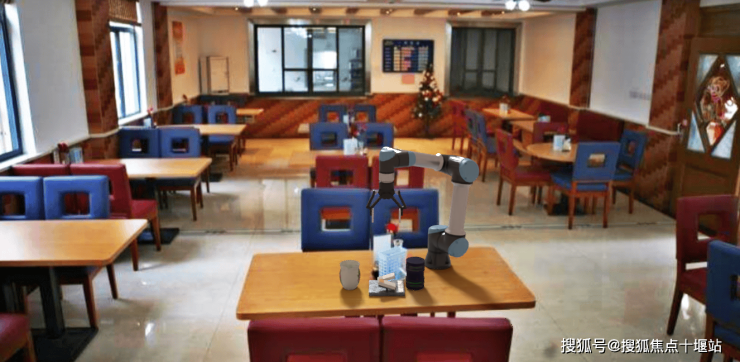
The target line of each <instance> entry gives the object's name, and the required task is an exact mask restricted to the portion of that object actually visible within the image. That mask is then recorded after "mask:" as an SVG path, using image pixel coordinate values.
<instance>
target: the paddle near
mask: <svg viewBox="0 0 740 362" xmlns="http://www.w3.org/2000/svg"><path fill="white" fill-rule="evenodd" d="M377 280H378V285H381V286H384V287H388V288H391V289H394V290H395V288H396V284H395V283H393V282H390V281H386V280H383V279H380V278H379V279H378V278H377Z"/></svg>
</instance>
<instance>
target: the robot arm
mask: <svg viewBox="0 0 740 362" xmlns="http://www.w3.org/2000/svg"><path fill="white" fill-rule="evenodd" d="M378 162H379V163H378V180H379V181H378V190H376V189H372V194H371V196H370V197H369V199H368V201H367V204H366V205H365V208H366V209H367V210H369V216H371V223H374V217H375V216H374V214H375V213H374V208H375V207H376V205H378V203H379V202H380V201H381V200H392V201H393V202H394V203H395V205H396V206H397V207H398V208H399V209H398V223H400V224H401V223H402V222H401V220H402V219H401V217H403V216H404V210H406V209H407V208H408V206H407V204H406V202H405V200H404V198H403V197H402V194H401V189H397V190H396V189H395V181H394V180H395V169H400V168H409V167H418V168H419V167H420V168H427V169H432V170H434V172H439V173H443V174H445V175H448V176H450V177H451V179H450V182H451V184H452V185H453V187H452V193H451V201H450V208H449V215H448V216H449V217H448V223H447V224H448V225H445V224H438V225H437V224H436V225H435V224H434V225H432V226H430V227H428V232H427V251H426V252H427V253H426V255H425V258H424V259H425V267H426V268H428V269H432V270H447V269H449V268H450V267H451V266H452V260H451V257H453V258H461V257H463V256H464V255H465V254H467V251H468V250H469V246H470V244H469V241H468V239H467V238H466V237H467V231H465V222H466V214H467V208H468V200H469V192H470V187H471V186H472V185H473V184H474V182H475V181H476V180H477V178H479V174H480V169H479V168H480V167H479V164H477V161H475V160H473V159H471V158H468V157H463V156H460V155H456V154H446V153H445V154H443V153H442V154H441V153H436V154H431V153H425V152H419V151H412V150H406V149H398V148H396V147H395V148H394V147H391V146H383V147H382V148H381V150H380V151H379V154H378ZM377 194H378V195H379V196H378V197H377V198H376V199H375V200H374V198H375V196H376V195H377ZM395 194H396V195H397V196H398V198H399V201H400V202H401V203H400V202H399V201H398V200H397V198H396V197H395V196H394V195H395ZM373 200H374V201H373ZM372 202H373V203H372Z"/></svg>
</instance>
